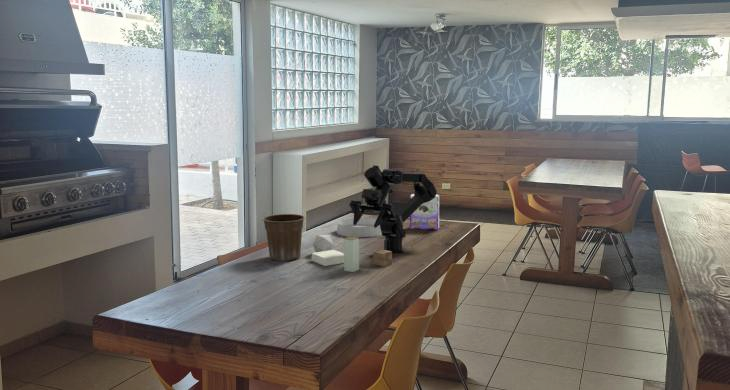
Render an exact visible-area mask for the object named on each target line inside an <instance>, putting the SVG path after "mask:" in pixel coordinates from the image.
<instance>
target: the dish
mask: <svg viewBox="0 0 730 390" xmlns="http://www.w3.org/2000/svg"><path fill="white" fill-rule="evenodd" d="M353 220H354V218H345V219H341V220H338V221H337V228H336V229H337V231H336V233H337V235H338V236H339V235H340V236H344V237H358V238H373V237H378V236H382V233H381V229H380V225H379V226H377V227H376V228H374V224H375V222H376V220H377V218H376V219H375V218H367V217H366V218H365V217H364V218H363V217H361V218H360V220H359V221H358V222H357V224H356V225H354V224H353Z"/></svg>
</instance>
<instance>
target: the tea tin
mask: <svg viewBox="0 0 730 390" xmlns="http://www.w3.org/2000/svg"><path fill="white" fill-rule="evenodd" d="M343 253H344V263H343V271H344V272H350V273H352V272H353V273H354V272H357V271H359V270H360V238H359V237H348V236H346V237H345V238H344V239H343Z"/></svg>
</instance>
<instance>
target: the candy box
mask: <svg viewBox="0 0 730 390" xmlns="http://www.w3.org/2000/svg"><path fill="white" fill-rule="evenodd" d="M413 196H414V193H411V195H409V200H410V199H411V198H412V197H413ZM439 228H440V194H436V196H435V198H434V199H432V200H431V201H429V202H426V203H423V204H422V205H421V206H420V207H419V208H418V209H417V210H416V211H415V212H414V213H413V214H412V215H411V216H410V217H409V229H411V230H412V229H413V230H433V231H434V230H435V231H436V230H438V231H439Z"/></svg>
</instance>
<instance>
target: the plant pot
mask: <svg viewBox="0 0 730 390" xmlns="http://www.w3.org/2000/svg"><path fill="white" fill-rule="evenodd" d="M304 220H305V216H304V215H303V214H302V215H301V214H296V213H295V214H293V213H282V214H272V215H267V216H264V217H262V221H263V223H264V224H263V225H264V230H265V232H266V239H267V247H268V255H269V258H270V260H274V261H277V262H288V261H294V260H297V259H299V258H301V253H302V252H301V251H302V238H303V237H302V233H303V228H304Z"/></svg>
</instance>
